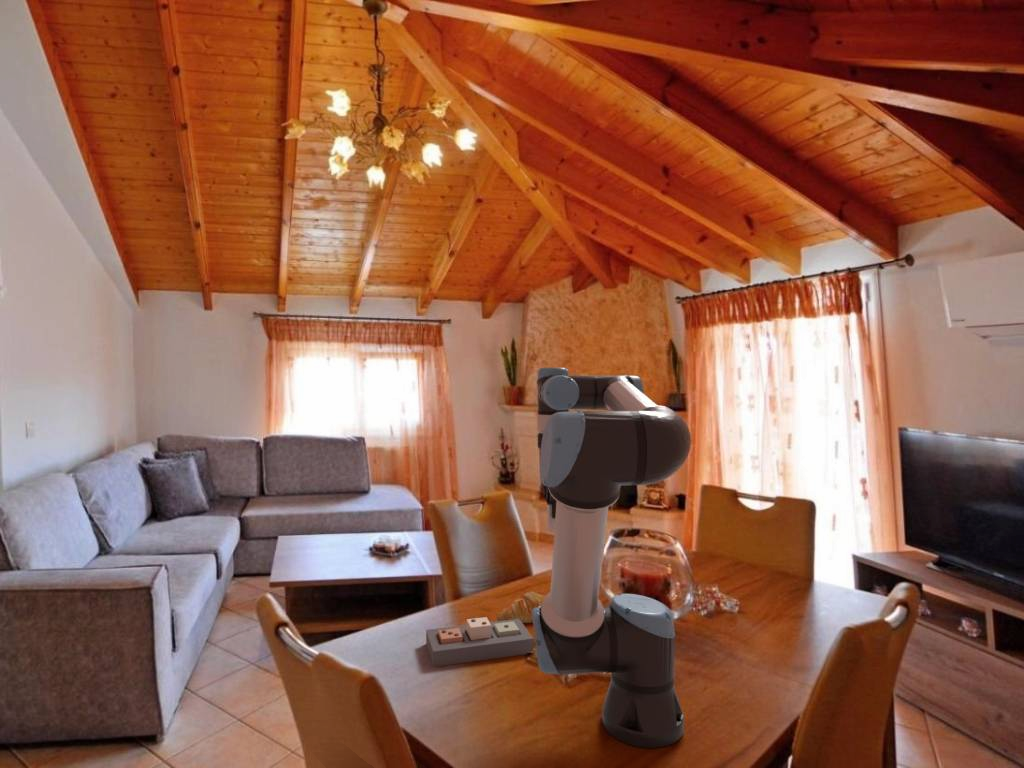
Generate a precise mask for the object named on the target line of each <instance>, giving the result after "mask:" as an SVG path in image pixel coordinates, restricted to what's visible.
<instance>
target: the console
mask: <svg viewBox="0 0 1024 768" xmlns="http://www.w3.org/2000/svg"><path fill="white" fill-rule="evenodd" d="M513 621H514V623H515V624H516V626H517V627H518V628H519V635H512V636H505V637H497V635H496V633H495V632H494V624H496V623H505V622H513ZM489 622H490V624H491V638H485V639H477V640H471V639H470V637H469V635H468V633H467V624H464V625H455V626H447V627H439V628H430V629H426V630H425V632H426V633H425V636H426V638H425V639H426V640H425V643H426V644H425V645H426V648H427V650H428V654H429V658H430V660H431V663H432V667H434V668H435V667H441V666H449V665H455V664H456V665H457V664H463V663H472V662H478V661H486V660H493V659H500V658H507V657H514V656H515V657H516V656H521V655H528V654H527V653H529V652H532V651H533V652H534V637H533V636H532V634H531V633H530V632H529V630H528V629H527V627H526V626H525V624H524V623H522V622H521V621H520V619H513V620H505V621H498V620H497V621H489ZM454 628H459V630H460V632H461V634H462V636H463V642H457V643H449V644H441V645H440V643H439V641H438V630H446V629H454Z"/></svg>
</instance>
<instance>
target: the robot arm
mask: <svg viewBox="0 0 1024 768" xmlns="http://www.w3.org/2000/svg"><path fill="white" fill-rule="evenodd" d="M536 384H537V415H536V416H537V419H536V420H537V422H536V423H537V425H536V426H537V427H536V429H537V431H538V432H539V433H538V434H537V448H538V449H540V457H539V478H540V482H541V483H542V492H543V493H542V494H543V498H544V499H545V502H546V531H548V533H553V532H554V533H553V549H552V564H551V578H550V579H551V581H550V591H549V592H548V593H547V594H545V595H546V596H545V598H544V599H543V602H542V605H541V606H538V607H536V608H534V609H533V611H532V614H533V623H532V624H533V633H534V639H535V641H534V642H535V651H536V657H537V658H536V659H537V666H538V668H539V670H540V671H541V672H542V673H544V674H549V675H558V676H563V675H577V674H578V675H579V674H580V675H581V674H583V675H584V674H610V673H611V677H610V682H609V686H608V689H607V691H606V695H605V698H604V700H603V704H602V708H601V721H602V725H603V727H604V729H605V730H606V731H607V732H608V734H609V735H611V736H612V737H614V738H615V739H616V740H619V742H622V743H625V744H627V745H631V746H634V747H639V748H645V749H646V748H647V749H649V748H651V749H653V748H654V749H656V748H664V747H668V746H670V745H673V744H676V742H678V741H679V740H680V739H681V738H682V736H683V735H684V731H685V727H684V726H685V723H684V722H685V719H684V714H683V710H682V707H681V704H680V701H679V697H678V695H677V691H676V689H675V688H676V687H675V636H676V631H675V625H674V624H675V622H674V614H673V613H672V611H671V609H670V608H669V607H668V606H667V605H666V604H664V603H663V602H660V601H659V600H656V599H655V598H651V597H648V596H645V595H642V594H641V595H640V594H635V593H619V594H615V595H614V596H613V597H612V598H611V600H610V604H609V605H603V603H602V601H601V600H600V599H599V592H600V583H601V576H602V568H603V567H602V566H603V558H604V550H605V542H606V541H605V540H606V532H607V523H608V513H609V507H611V506H613V505H614V504H615V503H616V502H617V501H618V500H619V497H620V493H621V489H622V488H621V486H646V485H647V486H648V485H653V484H657V483H659V482H662V481H664V480H667V479H668V478H670V477H671V476H673V475H675V474H676V473H677V472H678V471H679V470H680V468H681V467H683V465H684V463H685V462H686V461H687V459H688V456H689V454H690V451H691V444H692V437H691V436H692V435H691V432H690V428H689V427H688V425H687V423H686V422H685V420H684V418H683V417H682V416H680V415H679V414H678V413H677V412H675V411H674V410H673V409H671V407H670V408H669V407H668V406H664V405H658V404H656V403H655V402H654V401H653V400H651V398H649V397H648V396H647V395H646V394H645V392H644V384H643V382H642V379H641V377H639V376H638V375H629V374H622V375H621V374H620V375H570V374H569V370H568V368H567V367H541V368H539V369H538V371H537V379H536ZM570 410H572V411H570ZM583 410H585V411H583ZM587 410H588V411H587ZM590 410H591V411H590ZM594 410H595V411H594ZM597 410H598V411H597ZM601 410H602V411H601ZM606 410H607V411H606Z"/></svg>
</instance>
